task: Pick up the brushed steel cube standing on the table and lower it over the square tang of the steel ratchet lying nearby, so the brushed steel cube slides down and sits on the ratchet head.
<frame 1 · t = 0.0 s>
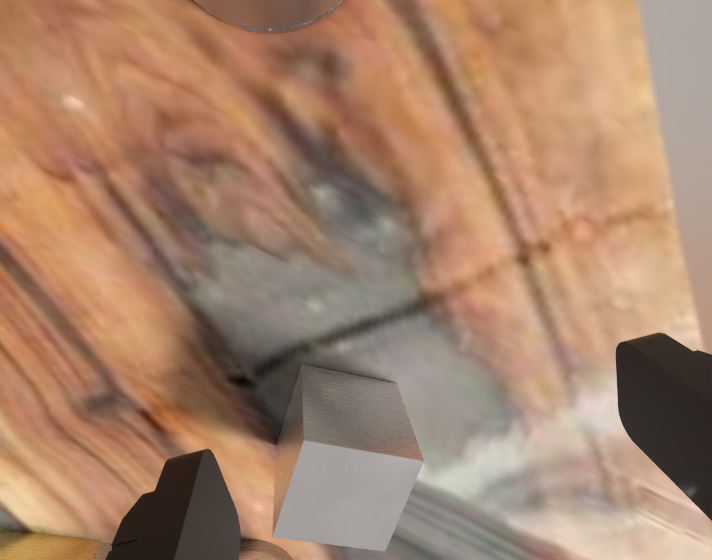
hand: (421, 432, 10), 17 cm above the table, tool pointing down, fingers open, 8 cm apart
brushed steel cube: (335, 414, 30), on the table
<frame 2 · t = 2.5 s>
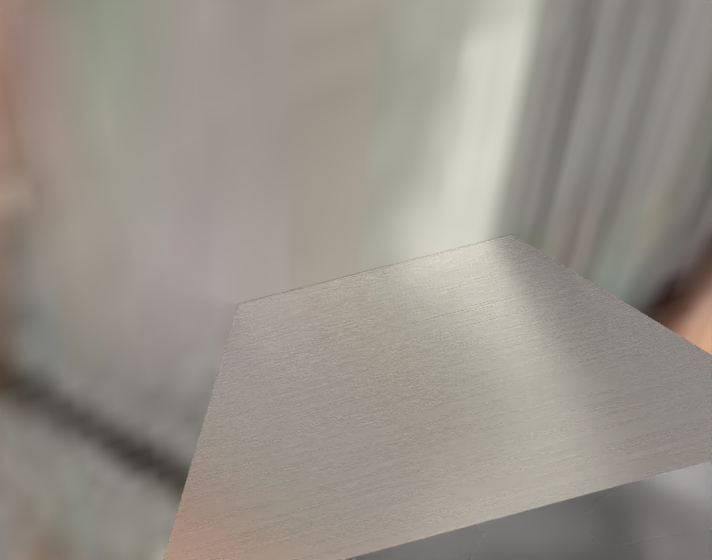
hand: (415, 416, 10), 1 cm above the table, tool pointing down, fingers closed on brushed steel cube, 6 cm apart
brushed steel cube: (403, 387, 11), on the table, touching gripper
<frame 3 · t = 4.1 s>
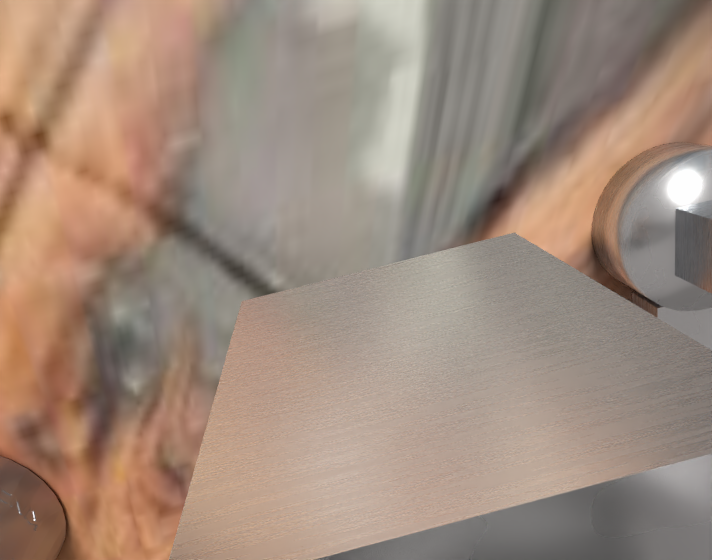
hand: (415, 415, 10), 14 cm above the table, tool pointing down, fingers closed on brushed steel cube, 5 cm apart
brushed steel cube: (405, 384, 11), point 12 cm above the table, touching gripper
ratchet: (663, 218, 24), on the table
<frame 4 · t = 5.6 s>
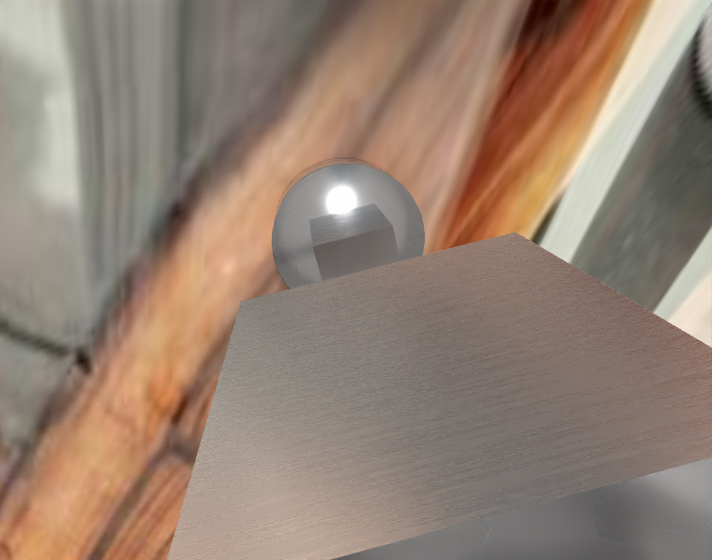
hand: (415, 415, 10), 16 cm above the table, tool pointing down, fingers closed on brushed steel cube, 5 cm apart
brushed steel cube: (405, 385, 11), point 15 cm above the table, touching gripper
ratchet: (343, 227, 26), on the table
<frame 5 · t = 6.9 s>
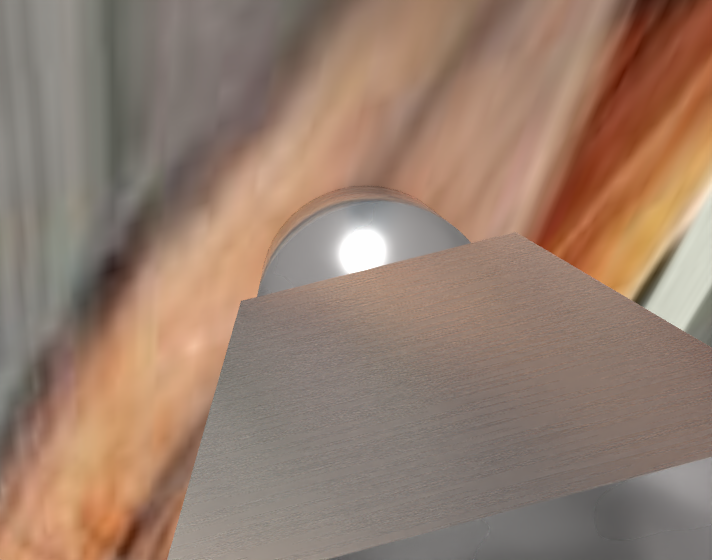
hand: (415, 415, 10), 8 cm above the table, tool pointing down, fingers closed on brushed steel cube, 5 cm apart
brushed steel cube: (405, 385, 11), point 6 cm above the table, touching gripper
ratchet: (363, 287, 17), on the table
when the fingers open (5 cm above the table, at t = 8.3 s): brushed steel cube stays where it is, resting on ratchet.
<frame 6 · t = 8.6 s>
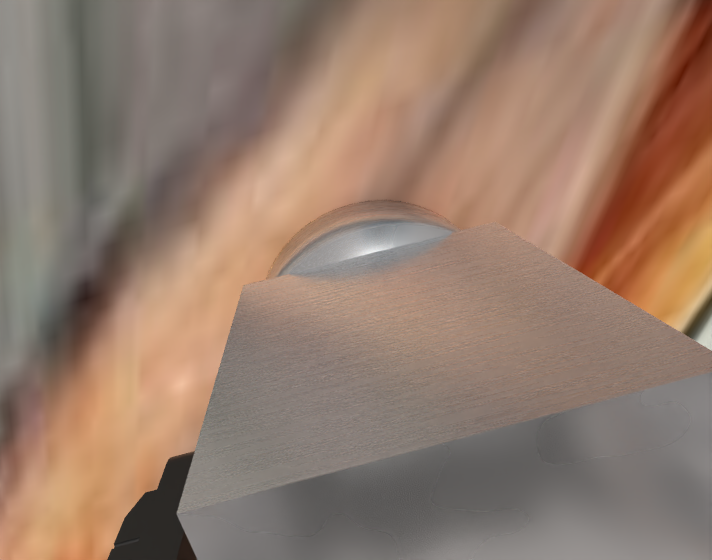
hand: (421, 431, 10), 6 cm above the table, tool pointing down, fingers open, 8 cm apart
brushed steel cube: (395, 364, 12), point 3 cm above the table, touching ratchet
ratchet: (378, 316, 15), on the table, touching brushed steel cube
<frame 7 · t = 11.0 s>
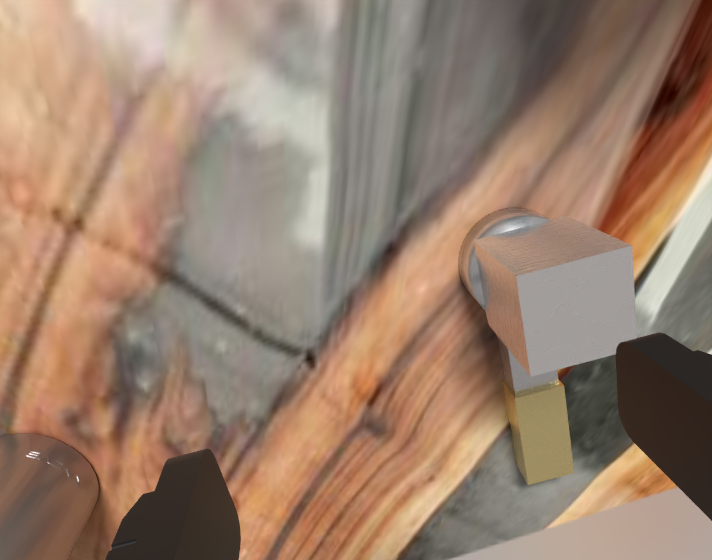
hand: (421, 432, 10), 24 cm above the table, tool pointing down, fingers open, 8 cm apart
brushed steel cube: (525, 271, 31), point 3 cm above the table, touching ratchet
ratchet: (508, 258, 34), on the table, touching brushed steel cube
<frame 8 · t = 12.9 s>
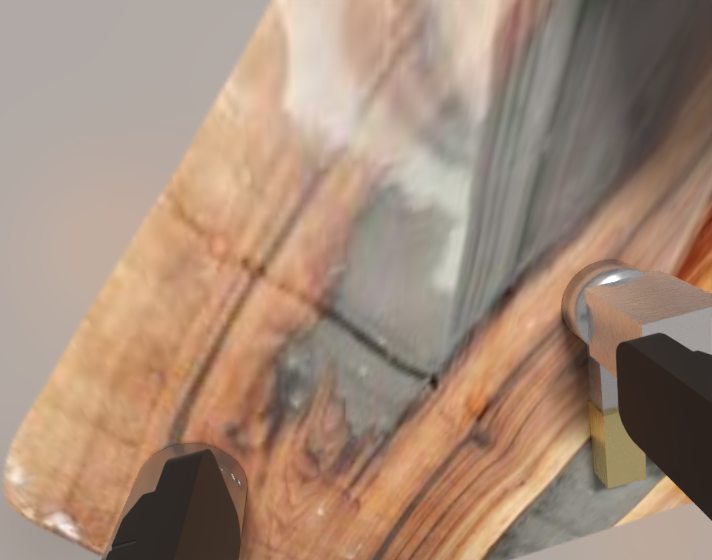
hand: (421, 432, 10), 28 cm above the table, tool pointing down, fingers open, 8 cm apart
brushed steel cube: (623, 313, 39), point 3 cm above the table, touching ratchet
ratchet: (601, 300, 42), on the table, touching brushed steel cube
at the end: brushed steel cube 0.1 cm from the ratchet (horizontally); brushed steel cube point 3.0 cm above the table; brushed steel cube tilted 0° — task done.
